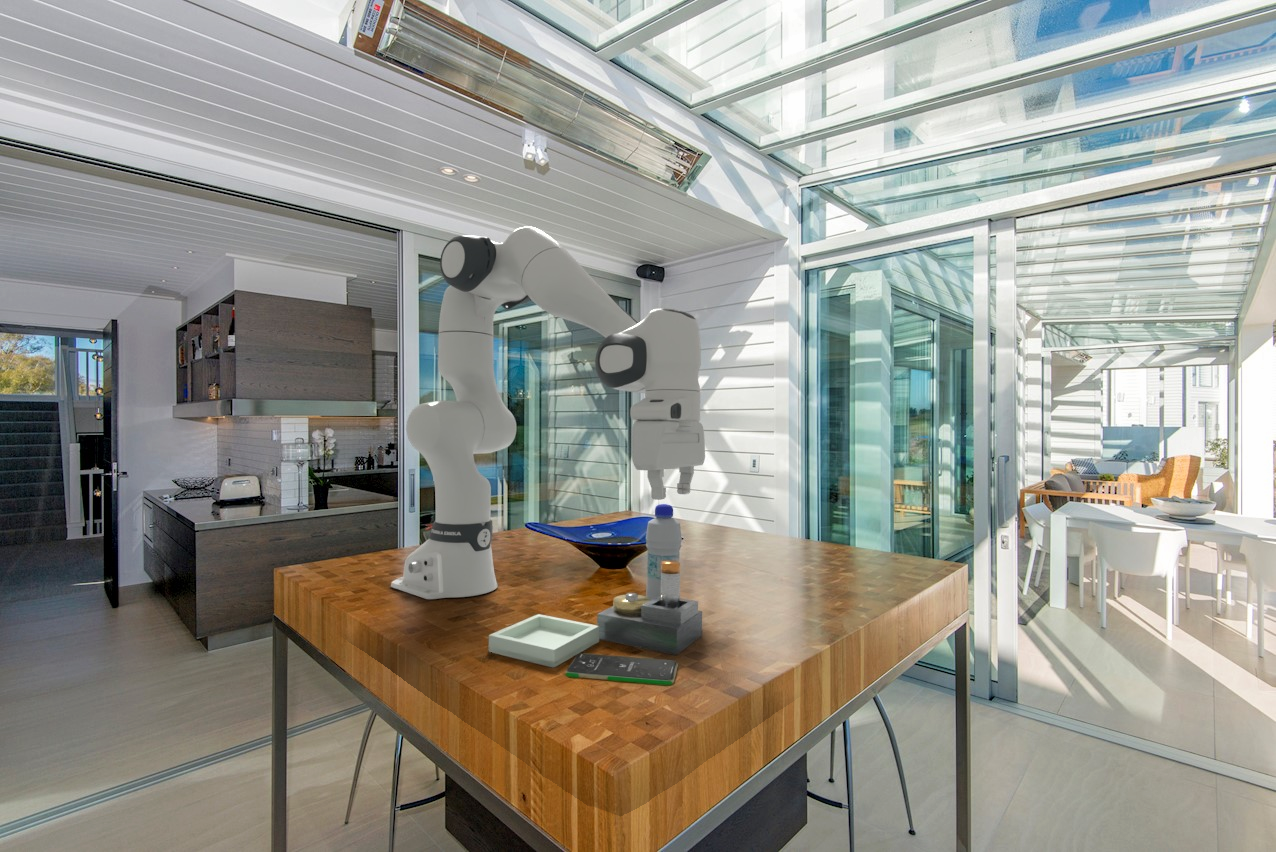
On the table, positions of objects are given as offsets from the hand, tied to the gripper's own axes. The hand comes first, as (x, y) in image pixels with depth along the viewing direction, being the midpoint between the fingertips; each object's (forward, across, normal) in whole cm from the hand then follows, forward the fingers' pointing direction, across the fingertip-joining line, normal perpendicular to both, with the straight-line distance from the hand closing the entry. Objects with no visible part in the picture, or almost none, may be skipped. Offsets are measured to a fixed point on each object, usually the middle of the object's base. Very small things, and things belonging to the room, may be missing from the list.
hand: (671, 496), depth 95 cm
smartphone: (+24, +14, -1) cm, 27 cm away
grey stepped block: (+23, 0, -4) cm, 23 cm away
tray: (+23, +12, -16) cm, 30 cm away
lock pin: (+19, 0, 0) cm, 19 cm away
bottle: (+23, -13, -8) cm, 28 cm away
